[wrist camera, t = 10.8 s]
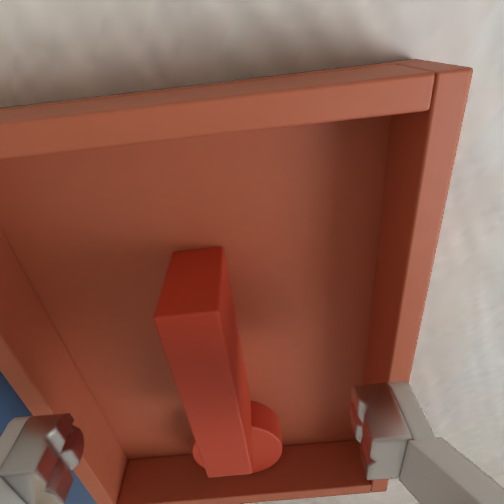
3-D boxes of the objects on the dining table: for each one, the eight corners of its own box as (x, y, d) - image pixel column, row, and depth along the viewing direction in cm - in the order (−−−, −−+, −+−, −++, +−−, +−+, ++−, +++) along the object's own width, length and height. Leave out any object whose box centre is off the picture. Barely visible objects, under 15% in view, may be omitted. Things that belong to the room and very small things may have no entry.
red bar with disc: (136, 254, 11) (104, 323, 8) (259, 241, 11) (266, 306, 8) (203, 452, 17) (196, 527, 14) (282, 445, 17) (290, 519, 14)
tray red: (417, 58, 9) (475, 67, 7) (368, 435, 17) (386, 491, 15) (-72, 116, 9) (-168, 142, 7) (121, 457, 18) (105, 515, 16)
